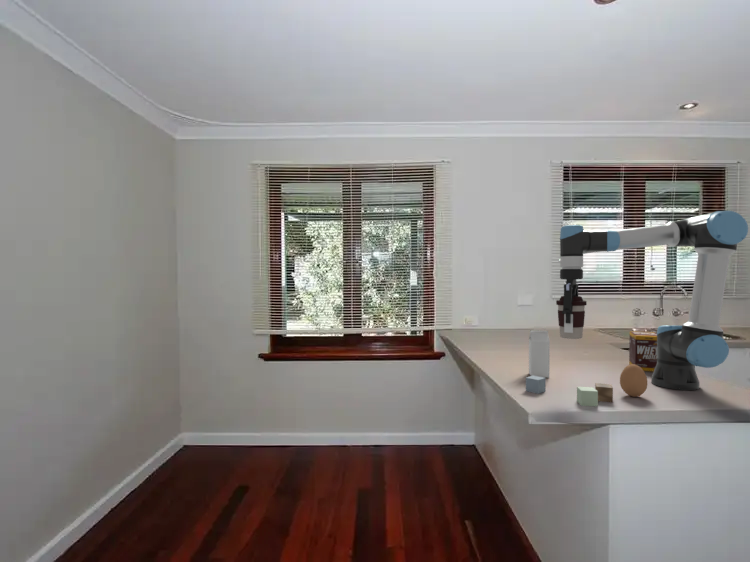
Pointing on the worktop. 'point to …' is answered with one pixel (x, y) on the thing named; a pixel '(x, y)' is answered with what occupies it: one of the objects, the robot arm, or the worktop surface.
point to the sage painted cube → (587, 396)
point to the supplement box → (643, 350)
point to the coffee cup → (577, 317)
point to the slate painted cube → (535, 384)
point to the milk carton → (539, 353)
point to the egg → (633, 380)
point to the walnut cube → (604, 392)
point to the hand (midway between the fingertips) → (571, 330)
